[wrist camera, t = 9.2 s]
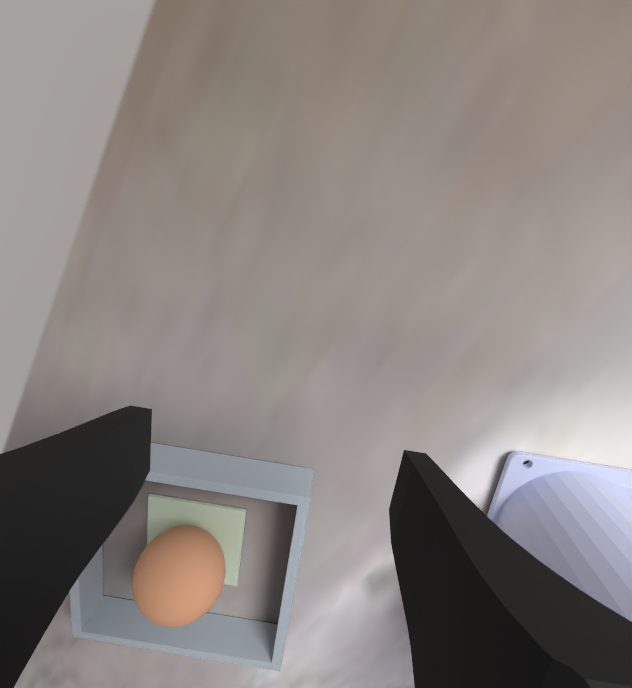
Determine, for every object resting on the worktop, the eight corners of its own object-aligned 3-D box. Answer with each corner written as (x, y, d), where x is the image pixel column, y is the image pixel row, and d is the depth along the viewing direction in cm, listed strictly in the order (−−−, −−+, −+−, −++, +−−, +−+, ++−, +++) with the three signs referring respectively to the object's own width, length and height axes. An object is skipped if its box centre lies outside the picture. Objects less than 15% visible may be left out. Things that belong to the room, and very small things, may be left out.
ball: (239, 515, 25) (219, 588, 20) (227, 576, 26) (206, 657, 22) (157, 500, 25) (117, 570, 20) (151, 562, 26) (112, 641, 21)
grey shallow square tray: (313, 469, 24) (310, 497, 21) (285, 632, 28) (279, 671, 25) (89, 432, 24) (62, 457, 21) (94, 600, 28) (72, 636, 25)
